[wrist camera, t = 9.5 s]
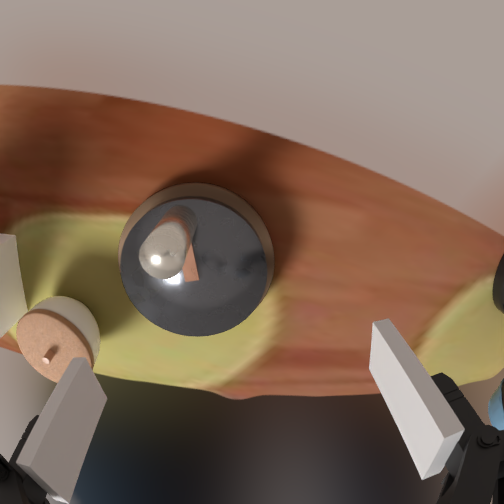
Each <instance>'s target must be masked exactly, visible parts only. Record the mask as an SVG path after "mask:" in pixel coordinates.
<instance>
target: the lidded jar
mask: <svg viewBox="0 0 504 504" xmlns="http://www.w3.org/2000/svg"><path fill="white" fill-rule="evenodd" d="M16 334H17V340H18V344H19V347H20V349H21V351H22V353H23V355H24V356H25V358H26V359H27V361H28V362H29V363H30V364H31V365H32V366H33V367H34V368H35V369H36V370H37V371H38V372H39V373H40V374H42V375H43V376H45V377H46V378H48V379H50V380H52V381H54V382H57V383H58V382H59V380H60V379H61V377H62V375H63V374H64V372H65V370H66V369H67V367H68V365H69V364H70V362H71V360H72V359H73V357H86V359H87V361H88V363H89V365H90V367H91V369H92V370H93V367H94V364H95V362H96V359H97V356H98V353H99V348H100V332H99V327H98V325H97V322H96V320H95V318H94V316H93V315H92V313H91V311H90V310H89V309H88V308H87V307H86V306H85V305H84V304H83V303H81V302H80V301H78V300H75V299H73V298H70V297H66V296H53V297H49V298H46V299H44V300H42V301H41V302H39V303H37V304H36V305H35V306H34V307H33V308H32V309H31V310H30V311H29V312H27V313H26V314H25V315H24V316H23V317H22V318H21V319H20V321H19V322H18V325H17V332H16Z"/></svg>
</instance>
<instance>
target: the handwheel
mask: <svg viewBox="0 0 504 504" xmlns="http://www.w3.org/2000/svg"><path fill="white" fill-rule="evenodd" d="M120 270H121V278H122V282H123V285H124V288H125V290H126V293H127V295H128V297H129V298H130V300H131V302H132V303H133V304H134V306H135V307H136V308H137V309H138V311H139V312H140V313H141V314H142V315H143V316H144V317H146V318H147V319H148V320H149V321H151V322H152V323H154V324H155V325H157V326H159V327H161V328H163V329H165V330H167V331H170V332H173V333H176V334H180V335H186V336H209V335H215V334H218V333H222V332H224V331H227V330H229V329H231V328H233V327H235V326H237V325H238V324H240V323H241V322H242V321H244V320H245V319H246V318H247V317H248V316H249V315H250V314H251V313H252V312H253V311H254V309H255V308H256V307H257V305H258V304H259V302H260V300H261V298H262V296H263V293H264V291H265V287H266V282H267V262H266V256H265V252H264V249H263V246H262V243H261V240H260V238H259V236H258V234H257V232H256V230H255V229H254V228H253V226H252V225H251V223H250V222H249V221H248V220H247V219H246V218H245V217H244V216H243V215H242V214H241V213H239V212H238V211H237V210H236V209H234V208H232V207H231V206H229V205H227V204H225V203H223V202H221V201H218V200H215V199H212V198H208V197H201V196H184V197H177V198H173V199H170V200H167V201H165V202H162V203H160V204H158V205H157V206H155V207H153V208H152V209H151V210H149V211H148V212H147V213H146V214H145V215H144V216H143V217H142V218H141V219H140V220H139V221H138V222H137V223H136V224H135V225H134V226H133V228H132V229H131V231H130V232H129V234H128V236H127V238H126V240H125V242H124V245H123V248H122V252H121V258H120Z"/></svg>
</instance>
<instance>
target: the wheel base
mask: <svg viewBox="0 0 504 504" xmlns="http://www.w3.org/2000/svg"><path fill="white" fill-rule="evenodd" d="M184 196H201V197H208V198H212V199H215V200H218V201H221V202H223V203H225V204H227V205H229V206H231V207H232V208H234V209H236V210H237V211H238V212H239V213H241V214H242V215H243V216H244V217H245V218H246V219H247V220H248V221H249V222H250V223H251V225H252V226H253V228H254V229H255V230H256V232H257V234H258V236H259V238H260V240H261V243H262V246H263V249H264V252H265V256H266V262H267V282H266V287H265V291H264V293H263V296H262V298H261V300H260V302H259V304H260V303H261V302H262V300H263V298H264V297H265V295H266V293H267V291H268V289H269V287H270V284H271V281H272V278H273V272H274V251H273V246H272V242H271V239H270V236H269V233H268V231H267V228H266V226H265V224H264V222H263V221H262V219H261V217H260V216H259V214H258V213H257V212H256V211H255V209H254V208H253V207H252V206H251V205H250V204H249V203H248V202H247V201H246V200H244V199H243V198H241V197H240V196H239V195H237V194H236V193H234V192H232V191H230V190H228V189H225V188H223V187H220V186H217V185H213V184H208V183H199V182H192V183H182V184H177V185H173V186H170V187H167V188H165V189H163V190H161V191H159V192H157V193H155V194H154V195H152V196H151V197H150V198H148V199H147V200H146V201H145V202H143V203H142V204H141V205H140V206H139V207H138V208H137V209H136V210H135V211H134V213H133V214H132V215H131V216H130V218H129V220H128V221H127V223H126V225H125V227H124V229H123V232H122V234H121V238H120V242H119V249H118V263H119V269H120V258H121V252H122V248H123V245H124V242H125V240H126V238H127V236H128V234H129V232H130V231H131V229H132V228H133V226H134V225H135V224H136V223H137V222H138V221H139V220H140V219H141V218H142V217H143V216H144V215H145V214H146V213H147V212H148V211H149V210H151V209H152V208H153V207H155V206H157V205H158V204H160V203H162V202H165V201H167V200H170V199H173V198H177V197H184ZM120 274H121V270H120ZM259 304H258V305H259ZM258 305H257V306H258ZM256 308H257V307H256ZM256 308H255V309H256ZM255 309H254V310H255Z"/></svg>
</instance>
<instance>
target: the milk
mask: <svg viewBox="0 0 504 504" xmlns="http://www.w3.org/2000/svg"><path fill="white" fill-rule="evenodd" d="M27 312H28V309H27V304H26V300H25V294H24V289H23V284H22V278H21V272H20V265H19V258H18V251H17V242H16V235H10V234H1V233H0V338H1V337H2V336H3V335H4V334H5V333H6V332H7V331H8V330H9V329H10V328H11V327H12V326H13V325H14V324H15V323H17V322H18V321H19V320H20V319H21V318H22V317H23V316H24V315H25V314H26V313H27Z"/></svg>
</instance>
